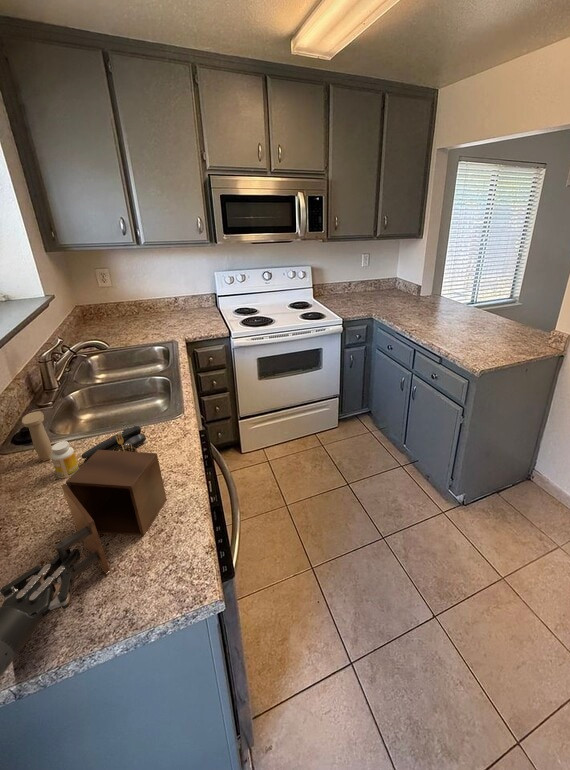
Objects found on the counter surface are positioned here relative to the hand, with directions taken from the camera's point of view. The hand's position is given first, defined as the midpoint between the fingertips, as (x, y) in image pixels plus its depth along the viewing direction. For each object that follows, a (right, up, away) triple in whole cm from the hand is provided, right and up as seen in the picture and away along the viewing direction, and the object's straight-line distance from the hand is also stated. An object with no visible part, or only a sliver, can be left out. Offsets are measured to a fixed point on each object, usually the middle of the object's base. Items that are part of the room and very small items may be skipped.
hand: (72, 551), depth 73 cm
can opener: (-15, +7, +40) cm, 44 cm away
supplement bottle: (-24, +4, +32) cm, 40 cm away
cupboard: (+1, -2, +18) cm, 18 cm away
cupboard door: (-3, -6, +6) cm, 9 cm away
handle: (-34, +6, +37) cm, 51 cm away
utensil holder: (-6, +4, +32) cm, 33 cm away
